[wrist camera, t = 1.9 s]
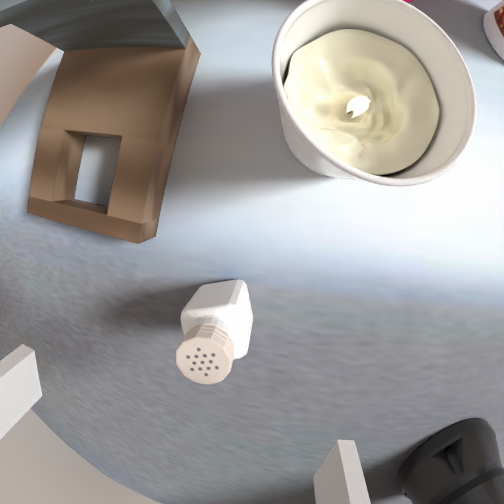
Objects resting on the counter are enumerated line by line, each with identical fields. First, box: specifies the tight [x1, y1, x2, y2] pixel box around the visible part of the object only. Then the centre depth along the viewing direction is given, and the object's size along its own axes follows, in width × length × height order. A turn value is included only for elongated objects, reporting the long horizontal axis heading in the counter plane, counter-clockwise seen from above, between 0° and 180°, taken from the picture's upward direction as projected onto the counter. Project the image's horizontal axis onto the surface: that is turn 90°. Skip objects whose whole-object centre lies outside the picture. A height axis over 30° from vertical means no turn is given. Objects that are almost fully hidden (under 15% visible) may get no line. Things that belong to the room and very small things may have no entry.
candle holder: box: [271, 0, 477, 186], centre depth 16 cm, size 10×10×12 cm
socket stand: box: [0, 0, 201, 244], centre depth 15 cm, size 16×12×16 cm
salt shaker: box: [176, 279, 253, 385], centre depth 21 cm, size 4×4×10 cm
